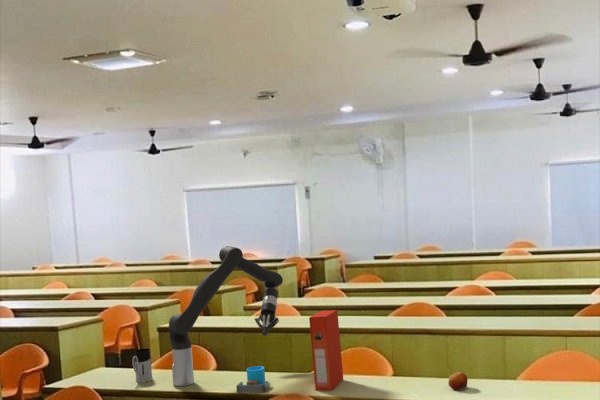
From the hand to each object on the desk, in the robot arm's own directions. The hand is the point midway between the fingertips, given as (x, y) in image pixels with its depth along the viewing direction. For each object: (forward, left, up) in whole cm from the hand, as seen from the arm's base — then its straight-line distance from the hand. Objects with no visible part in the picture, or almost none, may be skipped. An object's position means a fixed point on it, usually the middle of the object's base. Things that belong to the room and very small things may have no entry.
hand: (264, 334), depth 323 cm
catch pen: (+1, -32, -19) cm, 37 cm away
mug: (+2, -23, -19) cm, 30 cm away
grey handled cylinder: (-62, -12, -19) cm, 66 cm away
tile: (+1, -31, -19) cm, 36 cm away
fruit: (+91, -36, -19) cm, 100 cm away
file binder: (+35, -26, -19) cm, 48 cm away
